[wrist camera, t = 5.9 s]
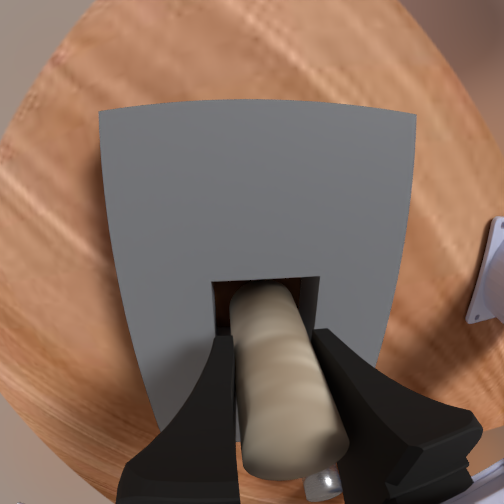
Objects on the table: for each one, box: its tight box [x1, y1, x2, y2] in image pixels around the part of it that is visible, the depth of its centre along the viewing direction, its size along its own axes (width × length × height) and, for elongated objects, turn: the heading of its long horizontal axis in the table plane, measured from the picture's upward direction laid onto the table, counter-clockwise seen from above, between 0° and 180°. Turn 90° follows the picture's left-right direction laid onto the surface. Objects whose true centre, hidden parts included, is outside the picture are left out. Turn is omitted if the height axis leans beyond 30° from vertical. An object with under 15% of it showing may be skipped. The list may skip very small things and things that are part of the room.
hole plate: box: [99, 99, 416, 442], centre depth 15 cm, size 12×18×3 cm, turn 0°
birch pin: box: [229, 279, 349, 481], centre depth 11 cm, size 3×3×8 cm
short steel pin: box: [302, 464, 343, 502], centre depth 21 cm, size 3×3×4 cm
